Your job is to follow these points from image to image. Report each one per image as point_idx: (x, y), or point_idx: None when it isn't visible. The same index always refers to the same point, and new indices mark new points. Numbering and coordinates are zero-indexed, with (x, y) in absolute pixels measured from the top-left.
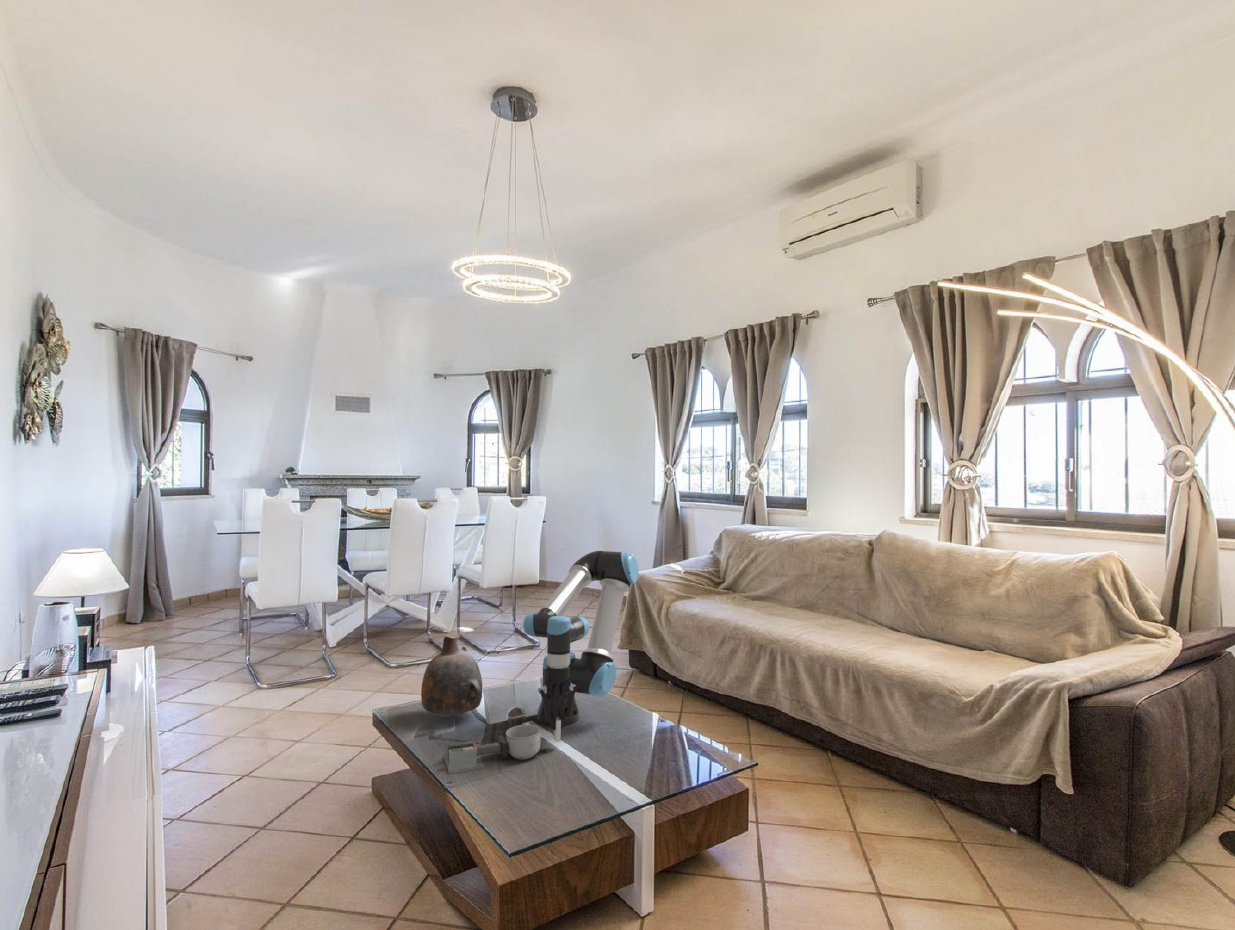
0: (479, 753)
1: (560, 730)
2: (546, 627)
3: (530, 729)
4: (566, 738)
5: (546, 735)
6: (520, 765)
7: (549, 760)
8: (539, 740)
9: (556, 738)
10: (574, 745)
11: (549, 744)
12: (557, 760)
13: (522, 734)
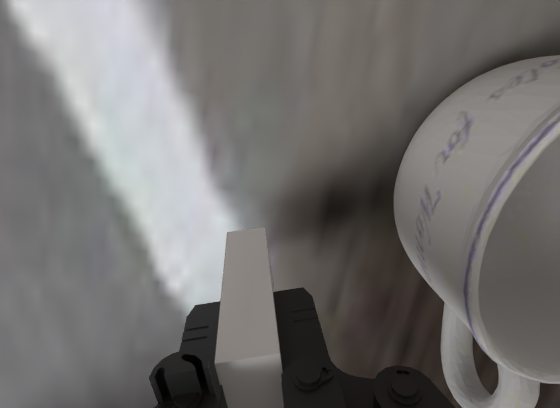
0: None
1: (225, 279)
2: None
3: (492, 332)
4: None
5: None
6: (551, 10)
7: (337, 45)
8: (455, 146)
9: (262, 239)
10: (124, 258)
11: None
12: (279, 28)
13: (516, 317)
